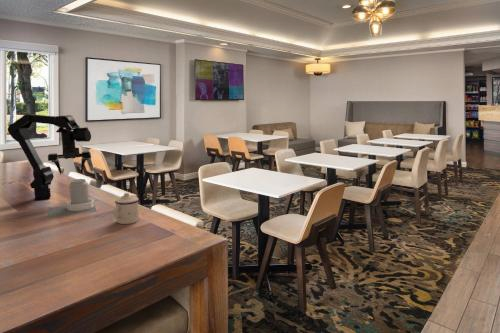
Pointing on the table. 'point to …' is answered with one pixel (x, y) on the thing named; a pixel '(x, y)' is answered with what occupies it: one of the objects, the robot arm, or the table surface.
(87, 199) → the can
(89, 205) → the bowl
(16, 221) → the table surface
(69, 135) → the robot arm
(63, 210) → the placemat
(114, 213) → the teacup with lid
